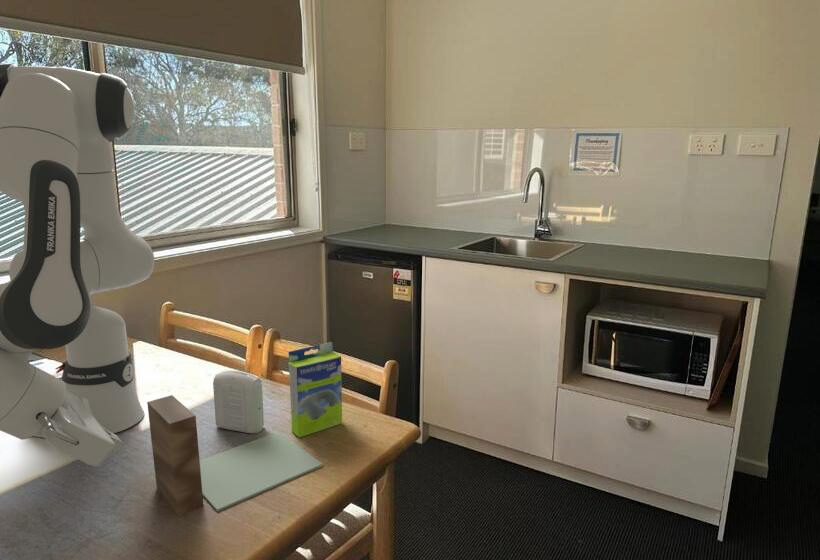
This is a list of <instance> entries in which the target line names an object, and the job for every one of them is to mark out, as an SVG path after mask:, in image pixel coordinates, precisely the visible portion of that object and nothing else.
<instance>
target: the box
mask: <svg viewBox="0 0 820 560" xmlns="http://www.w3.org/2000/svg"><path fill="white" fill-rule="evenodd" d="M333 348H334V347H333V341H330V342H326V343H320V344H317V345H312V346H309V347H304V348H299V349H295V350H290V351H288V363H287V365H288V371H289V390H290V392H289V394H290V410H291V412H290V413H291V432H292V433H294V435H295V436H297V437H298V438H302V437H305V436H308V435H310V434H313V433H317V432H321V431H323V430H327V429H329V428H332V427H336V426H339V425H342V424H343V404H342V403H343V401H342V400H343V392H342V391H343V389H342V388H343V386H342V383H343V382H342V356H341V355H340V354H338V353H336V352H335V351H334V350H333ZM311 350H317V351H316V352H313V353H308V354H305V353H307V352H310V351H311Z"/></svg>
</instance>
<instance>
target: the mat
mask: <svg viewBox="0 0 820 560" xmlns="http://www.w3.org/2000/svg"><path fill="white" fill-rule="evenodd" d="M199 460H200V471H201V482H202V493H203V498H205V500H206V501H207V502H208V503H209V505H211V506H212V507H213V509H214V510H215V511H216V512H217V513H218V512H220V511H222V510H224V509H227V508H229V507H231V506H235V504H238V503H240V502H243V501H246V500H247V499H249V498H252V497H255V496H256V495H259V494H261V493H263V492H267V491H268V490H270V489H273V488H275V487H277V486H279V485H282V484H284V483H287V482H290V481H291V480H293V479H295V478H297V477H300V476H303V475H305V474H307V473H310V472H311V471H315V470H316V469H319V468H321V467H323V462H321V461H319V460H318V459H317V458H315V457H314V456H312V455H311V454H310V453H309V452H307V451H306V450H304V448H301V447H300V446H299V445H297V444H296V443H295V442H293V441H292V440H291V439H289V438H288V437H287V436H285V435H283V434H282V433H281V432H280V431H277V432H274V433H271V434H268V435H265V436H263V437H260V438H258V439H257V438H256V439H254V440H252V441H250V442H246V443H243V444H241V445H238V446H235V447H233V448H230V449H227V450H225V451H222V452H219V453H217V454H214V455H211V456H208V457H206V458H202V459H199Z"/></svg>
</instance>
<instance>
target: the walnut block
mask: <svg viewBox="0 0 820 560" xmlns="http://www.w3.org/2000/svg"><path fill="white" fill-rule="evenodd" d="M146 403H147V404H146V405H147V411H148V422H149V430H150V438H151V439H150V440H151V447H152V448H151V449H152V457H153V466H154V475H155V476H154V477H155V485H156V489H157V491H158V492H159V494H161V496H162V497H163V499H165V501H166V502H167V503H168V504H169V506H170V507H171V508H172V509H173V511H174V512H175V513H176V515H177V516H178V517H180V516H183V515H186V514H188V513H190V512H192V511H195V510H198V509H199V508H202V507H204V496H203V493H202V482H201V471H200V460H201V459H200V449H199V439H198V429H197V428H198V427H197V417H196V415H195V414H194V413H193V412H192V411H191V410H190V409H189V408H188V407H186V406H185V405H184V404H183V403H181V402H180V401H179V400H178V399H177V398H176V397H175V396H174V395H173V394H171V395H168V396H164V397H160V398H157V399H154V400H148V401H147V402H146Z"/></svg>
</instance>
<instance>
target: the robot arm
mask: <svg viewBox="0 0 820 560" xmlns="http://www.w3.org/2000/svg"><path fill="white" fill-rule="evenodd" d="M135 110H136V107H135V101H134V98H133V95H132V92H131V89H130V87H129V85H128V84H127V83H126V82H125V80H124V79H123V78H120V77H118V76H116V75H113V74H109V73H105V72H101V73H96V72H93V71H89V70H88V71H87V70H83V69H79V68H74V67H73V68H72V67H66V66H56V67H54V66H42V65H41V66H40V65H19V66H18V65H17V64H15V63H6V64H0V192H1V193H3V195H5V196H6V197H9V198H11V199H13V200H15V201H18V202H21V203H22V206H23V209H24V227H23V228H24V229H23V230H24V231H23V248H22V249H21V250H19V251H17V252H16V254H15V255H14V256H13V258H12V259H11V261H10V265H9V271H8V273H9V279H10V280H9V281H8V282H5V283H2V284H0V431H1V432H2V433H5V434H7V435H10V436H12V437H14V438H17V439H18V440H27V439H30V438H32V437H36V438H44V439H46V441H47V442H48V444H49V445H50V446H52V447H53V448H55V449H57V450H58V451H60V452H62V453H64V454H66V455H68V456H70V457H73V458H74V459H77V460H79V461H81V462H82V463H85V464H87V465H89V466H91V467H97V468H98V467H101V466H102V465H103V464H104V463H106V461H107V459H108V458H109V457H110V456H111V454H112V453H114V454H115V453H118V452H119V451H120V449H121V448H122V447H123V445H124V442H123V441H122V440H121V438H120V437H119V436H118V435H117V433H119V432H122V431H125V430H127V429H130V428H131V427H133V426H134V425H136V424H138V423H139V422H140V421H141V420H142V419H143V418H144V416H145V411H144V409H143V408H142V405H141V402H140V399H139V398H138V395H137V391H136V390H137V389H136V388H135V382H134V368H133V367H134V366H133V358H132V353H131V352H130V351H129V345H128V344H129V343H128V336H127V328H126V322H125V320H124V318H123V317H122V316H121V315H120V314H119V313H117V312H116V311H114V310H111V309H108V308H103V307H101V306H95V304H94V302H93V299H92V297H93V296H92V295H93V294H96V293H101V292H107V291H112V290H118V289H123V288H128V287H131V286H133V285H137V284H139V283H142V282H143V281H145V280H148V279H149V278H150V277H151V275H152V273H153V271H154V267H155V255H154V252H153V249H152V247H151V246H150V245H149V243H148V242H147V241H146V240H145V239H143V237H141V236H139V235H137V234H136V233H134V232H133V231H132V230H131V229H130V228H129V227H128V226H127V225H126V223H125V221H124V219H123V218H122V216H121V214H120V212H119V208H118V203H117V202H118V201H117V196H116V190H115V189H116V187H115V174H114V172H115V171H114V160H113V159H114V158H113V151H112V147H111V146H112V144H111V143H112V142H114V141H115V139H116V138H120V137H122V136H124V135H125V134H126V133H128V132H129V130H130V129H131V126H132V123H133V121H134V118H135V112H136V111H135ZM81 226H82V229H83V236H84V237H83V238H81ZM63 346H65V352H66V358H67V360H65V361H64V362H62V364H61V365H59V366H57V367H55V370H56V371H55V374H59V373H61V372H62V375H61V378H58V377H57V376H54V375H53V374H50V373H49V372H47V371H45V370H44V369H43V370H42V369H41V368H40V367H37V366H35V365H33V364H31V363H30V362H29V357H30V356H31V354H32V353H33V352H34V351H37V350H53V349H58V348H59V349H60V348H62V347H63ZM115 433H116V434H115Z"/></svg>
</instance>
